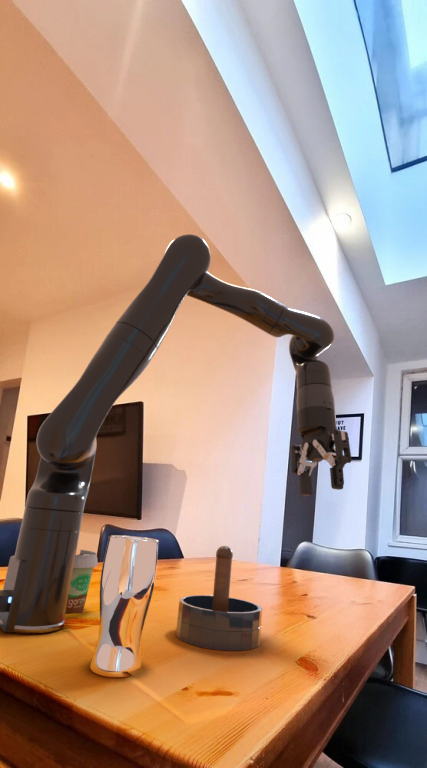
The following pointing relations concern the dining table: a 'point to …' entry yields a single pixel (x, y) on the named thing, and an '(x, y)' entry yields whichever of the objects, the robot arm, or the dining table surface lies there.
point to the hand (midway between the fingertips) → (321, 492)
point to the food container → (80, 581)
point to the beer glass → (124, 603)
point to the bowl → (219, 624)
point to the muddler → (222, 579)
